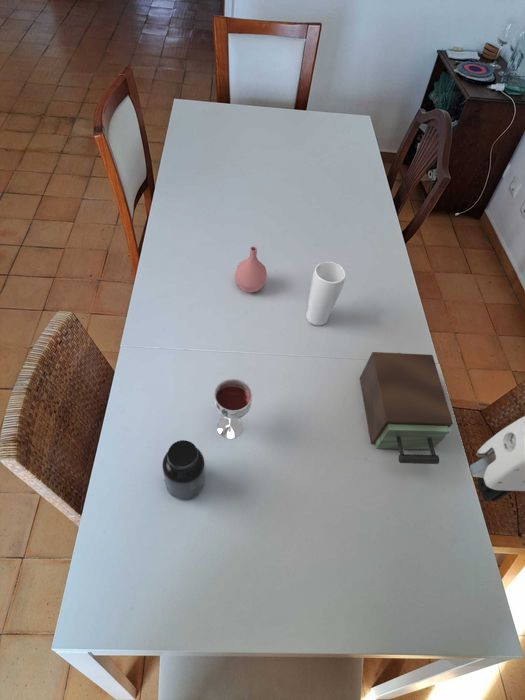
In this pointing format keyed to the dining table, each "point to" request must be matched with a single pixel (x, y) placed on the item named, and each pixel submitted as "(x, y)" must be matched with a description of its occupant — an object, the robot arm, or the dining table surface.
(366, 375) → the cabinet
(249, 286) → the pink bulb vase
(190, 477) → the supplement bottle
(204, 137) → the dining table surface
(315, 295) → the drinking glass
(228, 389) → the wineglass
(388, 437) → the drawer
